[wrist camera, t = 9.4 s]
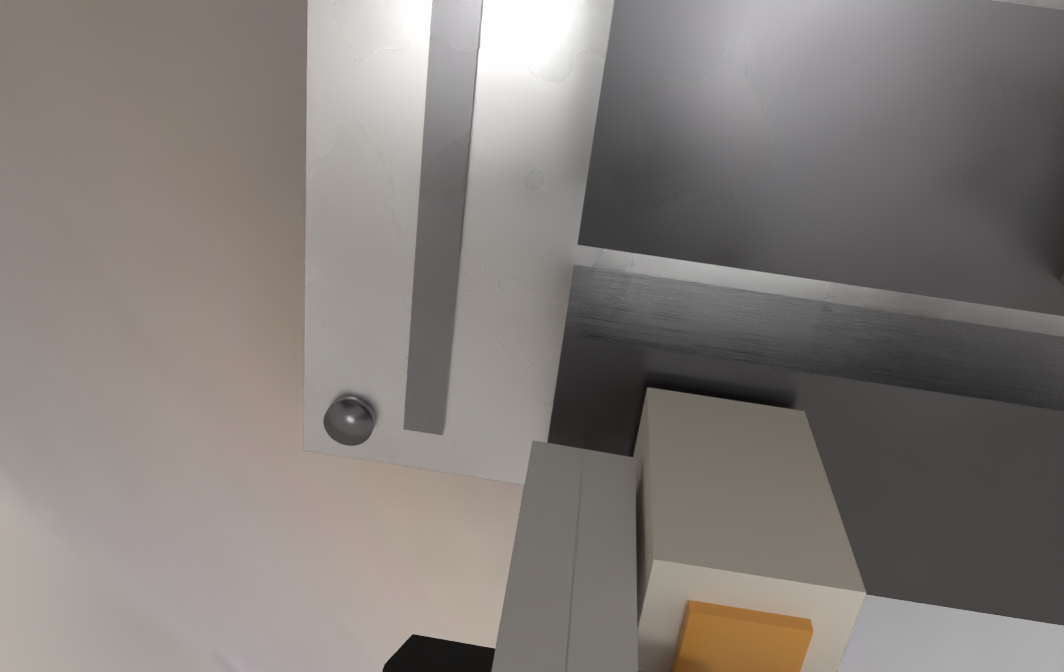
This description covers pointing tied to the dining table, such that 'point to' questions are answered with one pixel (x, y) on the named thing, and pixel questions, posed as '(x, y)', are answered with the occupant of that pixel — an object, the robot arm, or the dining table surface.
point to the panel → (707, 251)
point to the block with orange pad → (737, 541)
